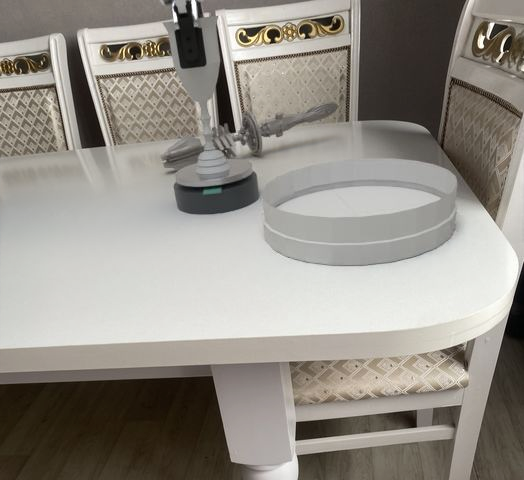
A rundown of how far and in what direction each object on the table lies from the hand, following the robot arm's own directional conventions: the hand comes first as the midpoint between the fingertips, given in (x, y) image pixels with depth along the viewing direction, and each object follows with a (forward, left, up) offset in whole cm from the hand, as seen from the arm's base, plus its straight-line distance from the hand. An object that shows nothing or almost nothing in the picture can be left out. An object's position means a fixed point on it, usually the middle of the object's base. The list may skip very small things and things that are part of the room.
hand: (196, 63), depth 67 cm
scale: (0, 0, -18) cm, 18 cm away
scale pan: (0, 0, -14) cm, 14 cm away
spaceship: (+6, +25, -18) cm, 31 cm away
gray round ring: (+18, -16, -18) cm, 30 cm away
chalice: (0, 0, -13) cm, 13 cm away
